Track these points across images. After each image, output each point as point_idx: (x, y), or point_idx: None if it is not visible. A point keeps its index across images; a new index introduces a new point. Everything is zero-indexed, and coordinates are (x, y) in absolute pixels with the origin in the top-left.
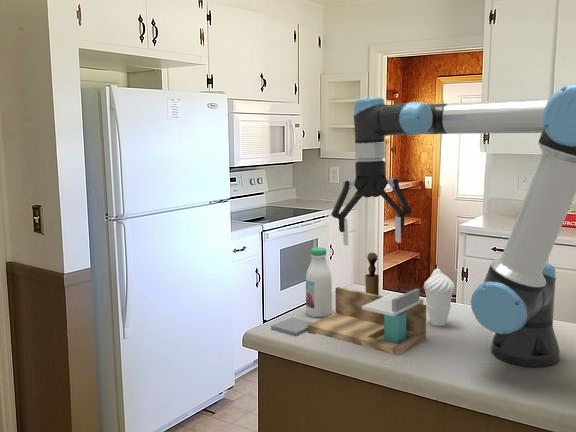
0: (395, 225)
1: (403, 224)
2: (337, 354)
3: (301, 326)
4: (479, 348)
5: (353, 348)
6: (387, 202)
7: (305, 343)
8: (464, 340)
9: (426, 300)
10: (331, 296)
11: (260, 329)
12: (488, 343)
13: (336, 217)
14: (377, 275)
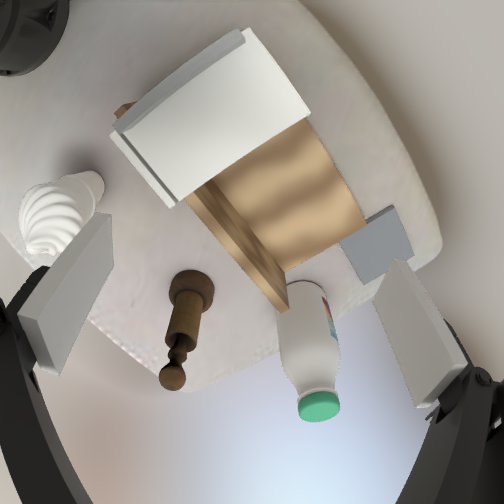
0: (79, 318)
1: (29, 284)
2: (357, 87)
3: (371, 235)
4: (71, 52)
5: (314, 103)
6: (81, 489)
7: (391, 163)
8: (77, 93)
9: (89, 213)
10: (282, 315)
11: (426, 255)
12: (48, 75)
13: (494, 384)
14: (167, 340)
